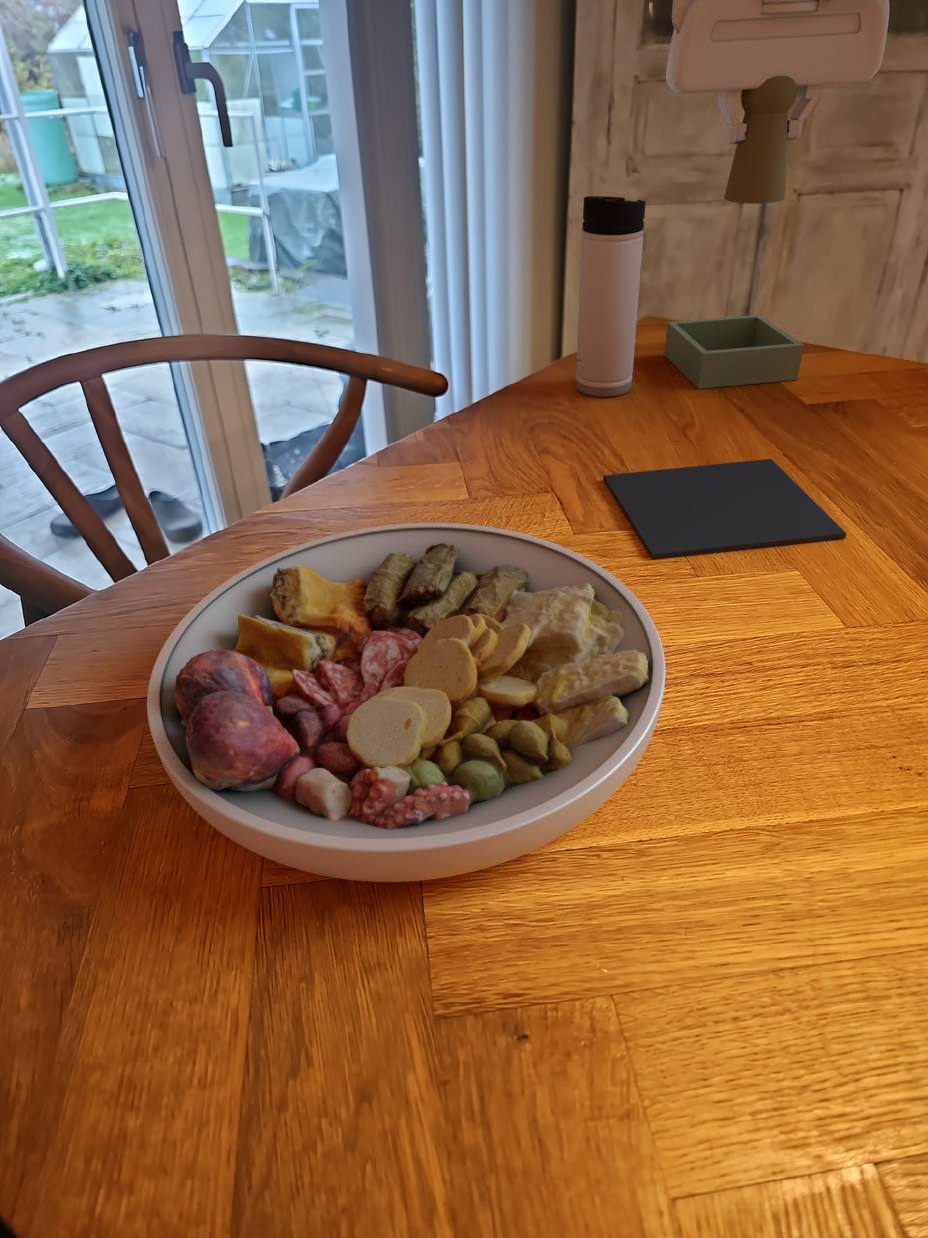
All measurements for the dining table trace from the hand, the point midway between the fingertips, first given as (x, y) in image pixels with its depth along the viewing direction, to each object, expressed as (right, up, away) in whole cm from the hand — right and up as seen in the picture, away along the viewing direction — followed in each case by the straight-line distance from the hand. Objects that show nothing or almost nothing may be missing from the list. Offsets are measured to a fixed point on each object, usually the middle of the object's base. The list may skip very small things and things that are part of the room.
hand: (762, 141), depth 85 cm
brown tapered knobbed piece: (0, -4, +3) cm, 5 cm away
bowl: (-33, -53, -31) cm, 70 cm away
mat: (-8, -38, -12) cm, 41 cm away
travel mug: (-14, -22, +11) cm, 28 cm away
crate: (+1, -18, +15) cm, 24 cm away
